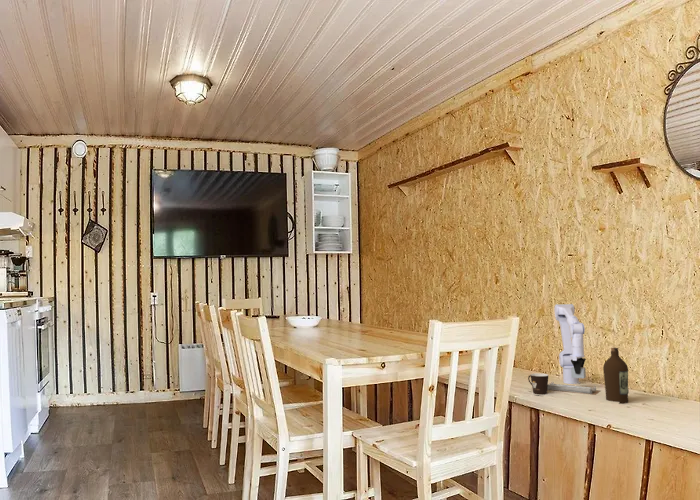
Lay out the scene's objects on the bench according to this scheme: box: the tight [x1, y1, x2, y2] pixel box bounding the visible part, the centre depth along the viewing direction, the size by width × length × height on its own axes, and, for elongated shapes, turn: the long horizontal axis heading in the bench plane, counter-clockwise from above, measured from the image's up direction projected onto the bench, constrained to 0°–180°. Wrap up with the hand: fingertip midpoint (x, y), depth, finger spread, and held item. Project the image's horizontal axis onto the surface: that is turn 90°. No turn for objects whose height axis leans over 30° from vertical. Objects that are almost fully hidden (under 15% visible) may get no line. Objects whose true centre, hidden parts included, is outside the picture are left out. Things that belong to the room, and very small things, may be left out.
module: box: [571, 366, 587, 379], centre depth 291 cm, size 4×6×6 cm, turn 54°
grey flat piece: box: [547, 381, 597, 395], centre depth 288 cm, size 9×22×2 cm, turn 53°
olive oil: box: [602, 347, 630, 404], centre depth 265 cm, size 11×11×25 cm
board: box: [549, 390, 601, 396], centre depth 288 cm, size 11×26×1 cm, turn 53°
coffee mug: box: [527, 372, 549, 397], centre depth 284 cm, size 12×9×10 cm
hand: (578, 373), depth 291 cm, fingers closed on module, 4 cm apart
